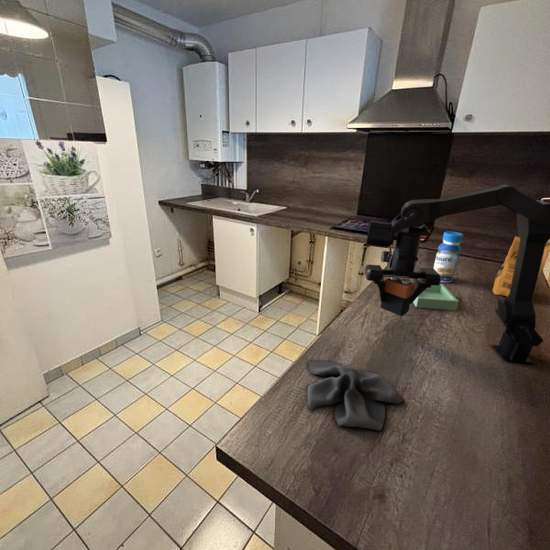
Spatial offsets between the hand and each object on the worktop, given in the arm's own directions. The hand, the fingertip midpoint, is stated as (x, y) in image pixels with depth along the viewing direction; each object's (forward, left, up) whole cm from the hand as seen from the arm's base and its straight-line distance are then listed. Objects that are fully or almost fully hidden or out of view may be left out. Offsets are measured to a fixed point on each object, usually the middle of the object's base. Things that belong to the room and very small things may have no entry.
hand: (395, 302), depth 83 cm
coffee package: (+34, -52, -10) cm, 63 cm away
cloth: (-26, +15, -10) cm, 32 cm away
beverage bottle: (+45, -31, -10) cm, 55 cm away
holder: (+24, -19, -10) cm, 32 cm away
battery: (0, 0, -3) cm, 3 cm away
